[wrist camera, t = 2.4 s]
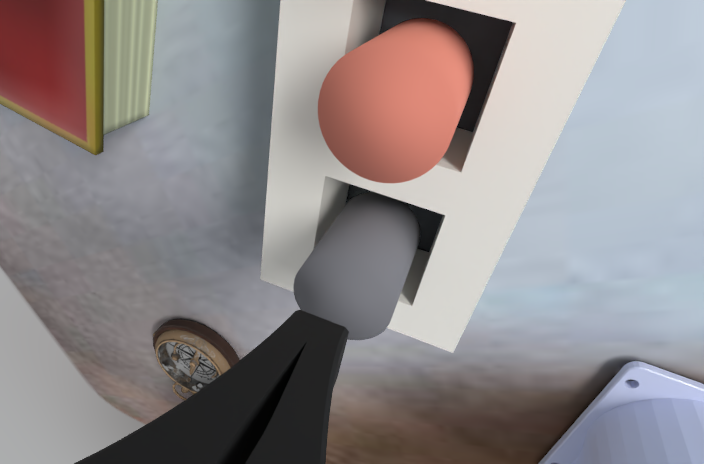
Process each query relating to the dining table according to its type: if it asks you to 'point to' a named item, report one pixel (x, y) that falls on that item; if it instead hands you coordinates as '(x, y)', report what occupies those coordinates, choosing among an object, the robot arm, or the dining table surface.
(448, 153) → the socket board
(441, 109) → the red plug
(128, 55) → the hardcover book
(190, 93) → the dining table surface
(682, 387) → the robot arm
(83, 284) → the dining table surface
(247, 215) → the dining table surface
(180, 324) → the compass
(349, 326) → the gray plug
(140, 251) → the dining table surface
